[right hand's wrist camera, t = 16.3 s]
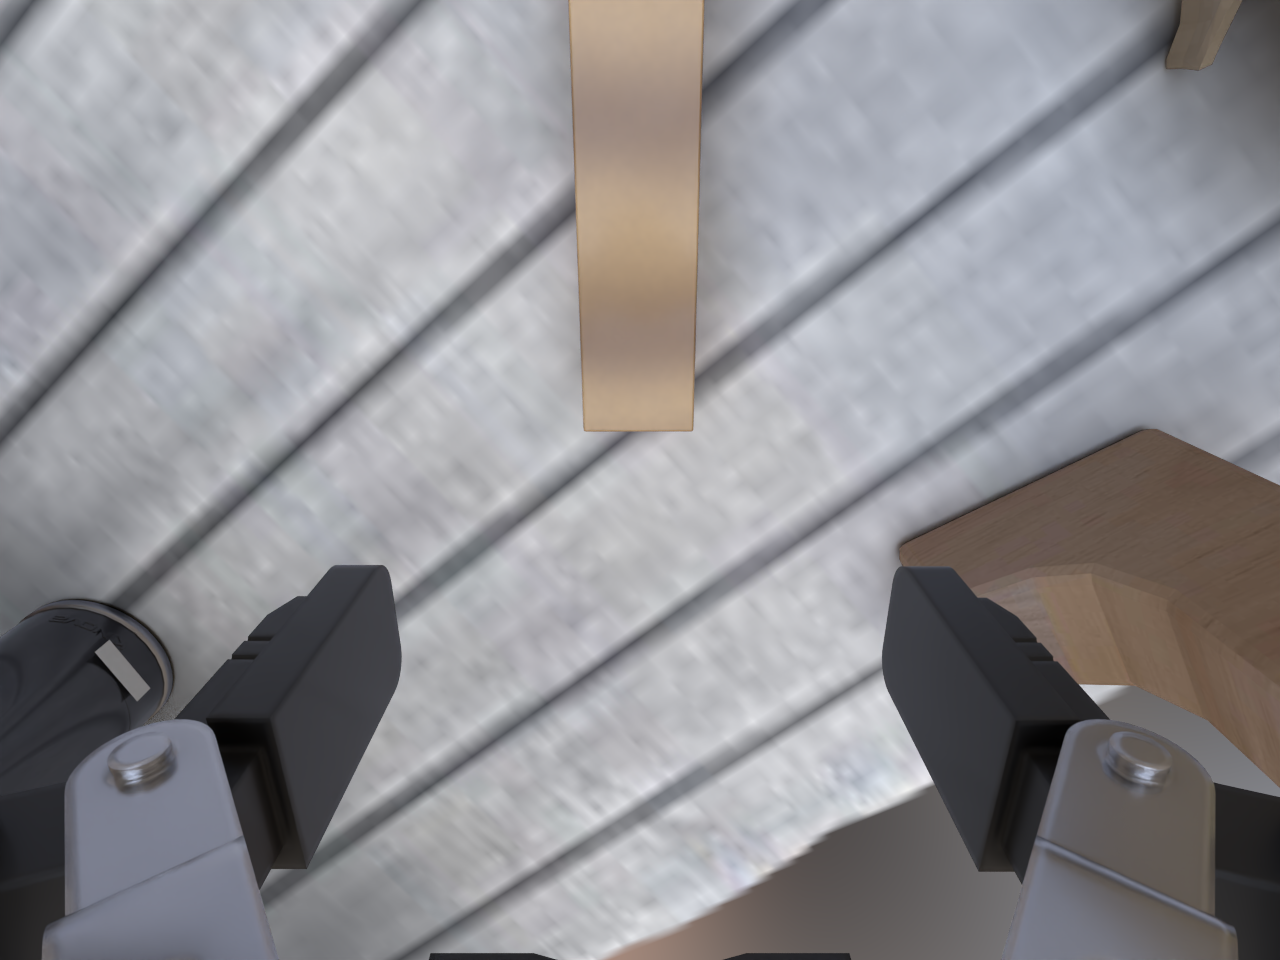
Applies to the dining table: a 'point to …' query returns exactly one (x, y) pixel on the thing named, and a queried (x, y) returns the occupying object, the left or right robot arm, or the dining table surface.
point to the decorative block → (1141, 578)
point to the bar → (637, 207)
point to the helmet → (1200, 32)
